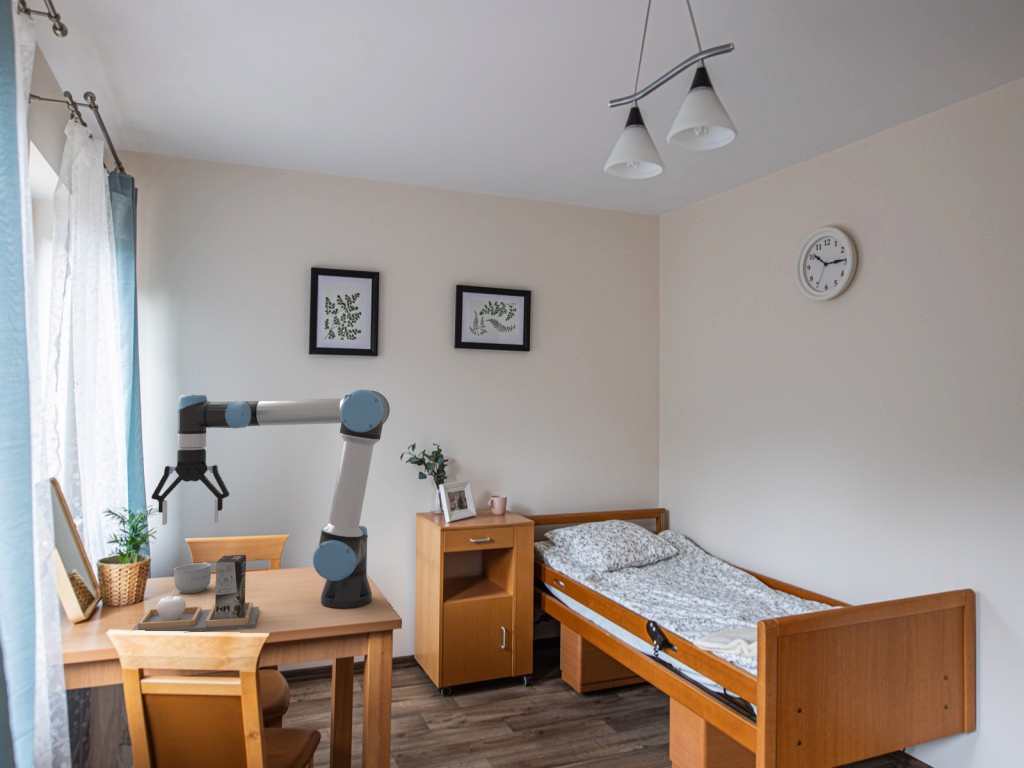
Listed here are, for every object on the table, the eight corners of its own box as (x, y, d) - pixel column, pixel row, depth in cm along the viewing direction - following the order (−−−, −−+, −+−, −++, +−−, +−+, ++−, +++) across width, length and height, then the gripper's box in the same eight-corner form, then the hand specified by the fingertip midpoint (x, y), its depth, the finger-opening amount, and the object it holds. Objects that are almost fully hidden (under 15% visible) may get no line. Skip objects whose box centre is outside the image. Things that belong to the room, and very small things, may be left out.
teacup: (193, 597, 224) (194, 571, 224) (165, 593, 227) (165, 568, 228) (224, 586, 237) (225, 561, 237) (197, 583, 241) (198, 559, 241)
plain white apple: (190, 619, 198) (190, 590, 198) (163, 625, 192) (164, 595, 193) (178, 614, 202) (178, 585, 202) (151, 620, 197) (152, 590, 197)
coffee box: (238, 621, 197) (240, 561, 198) (213, 621, 196) (215, 561, 197) (245, 611, 206) (247, 554, 207) (221, 612, 205) (223, 554, 206)
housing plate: (258, 610, 211) (259, 601, 211) (254, 627, 195) (254, 618, 195) (145, 616, 203) (145, 607, 203) (130, 635, 187) (131, 626, 187)
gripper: (239, 447, 215) (238, 519, 215) (146, 448, 208) (145, 522, 208) (237, 448, 208) (236, 523, 207) (140, 450, 201) (139, 527, 201)
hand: (190, 523), depth 208 cm, fingers open, 13 cm apart
